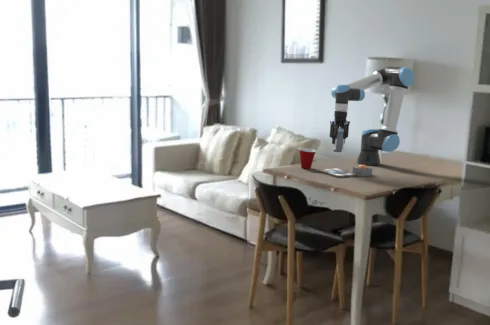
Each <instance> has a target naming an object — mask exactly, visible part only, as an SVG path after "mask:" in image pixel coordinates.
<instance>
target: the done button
mask: <svg viewBox="0 0 490 325" xmlns="http://www.w3.org/2000/svg"><path fill="white" fill-rule="evenodd" d="M358 167H359V168H361V169H366V167H368V165H363V164H359V165H358Z"/></svg>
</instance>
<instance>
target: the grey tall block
mask: <svg viewBox="0 0 490 325" xmlns="http://www.w3.org/2000/svg"><path fill="white" fill-rule="evenodd" d="M343 132H344V129H342V128H340V127H339V129H338V132H337V136H336V139H337V144H336V150H334V149H332V150H333V152H335V153H342V152H343V150H342V144H343Z"/></svg>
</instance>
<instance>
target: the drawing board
mask: <svg viewBox="0 0 490 325" xmlns="http://www.w3.org/2000/svg"><path fill="white" fill-rule="evenodd" d="M316 172H318V173H321V174H323V175H326V176H330V177H334V178H336V179H341V178H355V177H359V175H357V174H354V173H353V172H350V171H347V170H343V169H342V168H341V169H340V168H338V167H337V168H336V167H335V168H322V169H316Z"/></svg>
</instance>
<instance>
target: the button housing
mask: <svg viewBox="0 0 490 325" xmlns="http://www.w3.org/2000/svg"><path fill="white" fill-rule="evenodd" d="M352 173H354V174H357V175H358V177H359V176H360V177H368V176H372V175H373V168H371V167H368V166H367V167H366V169H361V168H359V166H353V167H352Z"/></svg>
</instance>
